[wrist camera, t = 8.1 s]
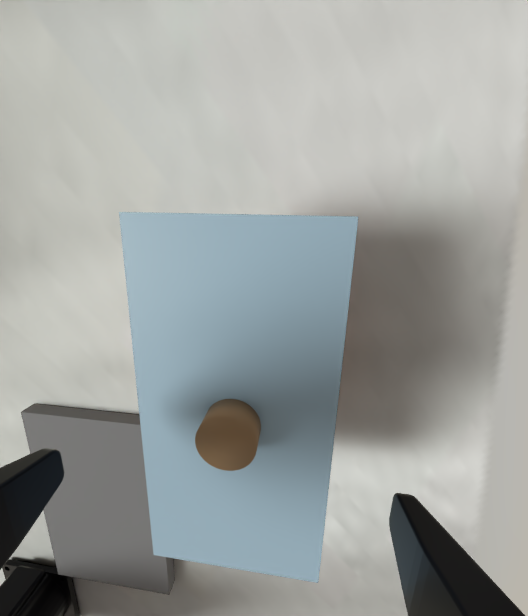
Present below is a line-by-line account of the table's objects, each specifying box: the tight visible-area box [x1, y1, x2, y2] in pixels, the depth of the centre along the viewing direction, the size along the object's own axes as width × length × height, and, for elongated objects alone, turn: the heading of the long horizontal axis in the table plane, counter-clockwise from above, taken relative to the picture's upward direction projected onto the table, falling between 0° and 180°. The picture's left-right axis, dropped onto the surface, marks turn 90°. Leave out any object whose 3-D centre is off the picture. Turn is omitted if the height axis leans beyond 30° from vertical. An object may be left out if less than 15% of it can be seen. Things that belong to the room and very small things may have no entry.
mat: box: [21, 404, 175, 595], centre depth 21 cm, size 16×10×1 cm, turn 179°
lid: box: [119, 212, 358, 583], centre depth 10 cm, size 14×7×4 cm, turn 178°
